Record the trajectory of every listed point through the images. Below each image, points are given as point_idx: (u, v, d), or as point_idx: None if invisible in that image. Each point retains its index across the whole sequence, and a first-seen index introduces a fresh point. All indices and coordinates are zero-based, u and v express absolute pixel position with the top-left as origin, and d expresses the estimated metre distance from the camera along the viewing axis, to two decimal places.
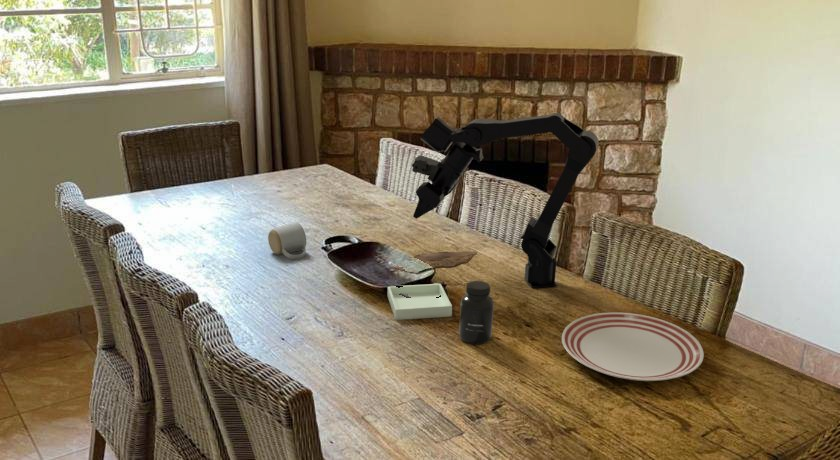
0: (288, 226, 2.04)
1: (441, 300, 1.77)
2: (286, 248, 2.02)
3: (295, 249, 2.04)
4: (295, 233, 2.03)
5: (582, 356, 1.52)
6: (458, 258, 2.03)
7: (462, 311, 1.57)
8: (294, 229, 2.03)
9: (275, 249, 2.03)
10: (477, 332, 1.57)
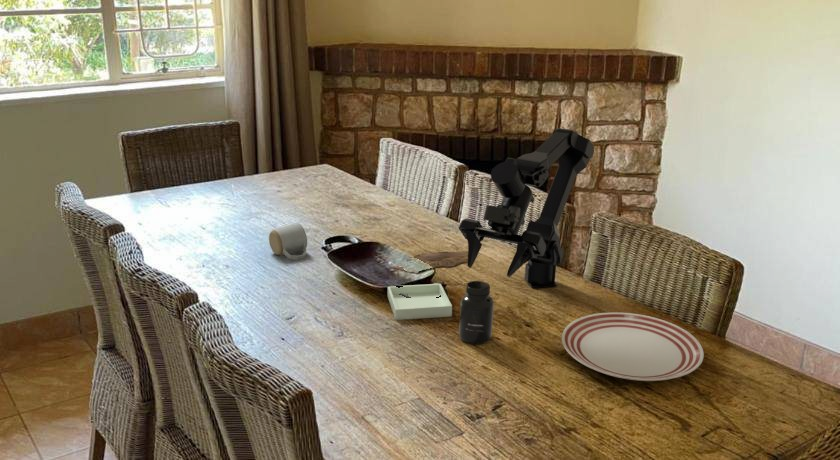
0: (289, 227, 2.03)
1: (441, 300, 1.77)
2: (287, 249, 2.01)
3: (296, 250, 2.04)
4: (295, 234, 2.02)
5: (582, 356, 1.52)
6: (458, 258, 2.03)
7: (462, 311, 1.57)
8: (295, 229, 2.03)
9: (276, 250, 2.02)
10: (477, 332, 1.57)
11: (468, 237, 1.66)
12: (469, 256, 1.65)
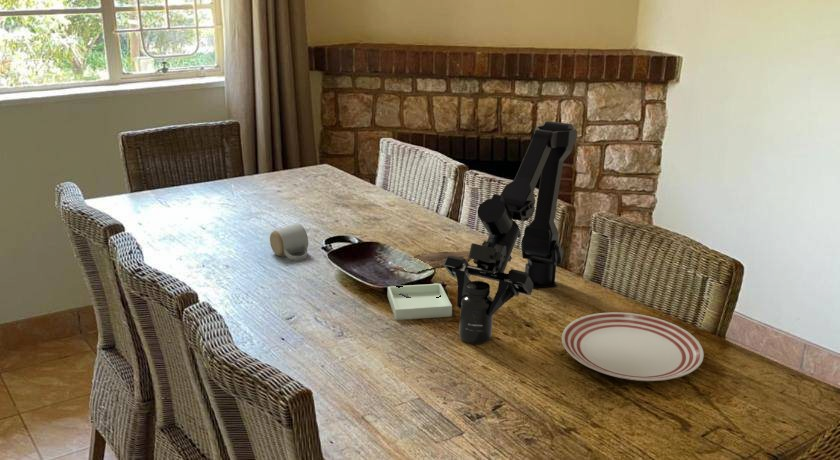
0: (290, 227, 2.03)
1: (441, 300, 1.77)
2: (288, 249, 2.01)
3: (297, 250, 2.03)
4: (296, 234, 2.02)
5: (582, 356, 1.52)
6: None
7: (462, 311, 1.57)
8: (296, 230, 2.02)
9: (277, 251, 2.02)
10: (477, 332, 1.57)
11: (458, 276, 1.61)
12: (459, 296, 1.59)
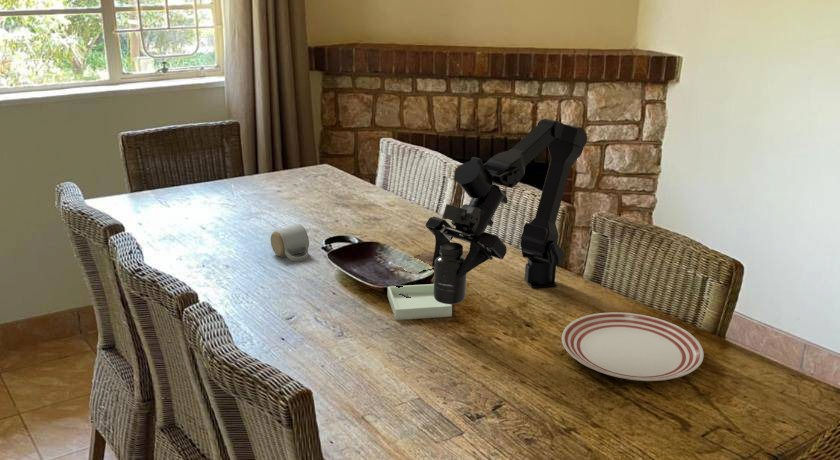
0: (291, 228, 2.02)
1: None
2: (289, 250, 2.01)
3: (298, 251, 2.03)
4: (297, 235, 2.02)
5: (582, 356, 1.52)
6: None
7: (434, 270, 1.61)
8: (297, 230, 2.02)
9: (278, 251, 2.01)
10: (447, 291, 1.59)
11: (436, 236, 1.64)
12: (434, 256, 1.63)
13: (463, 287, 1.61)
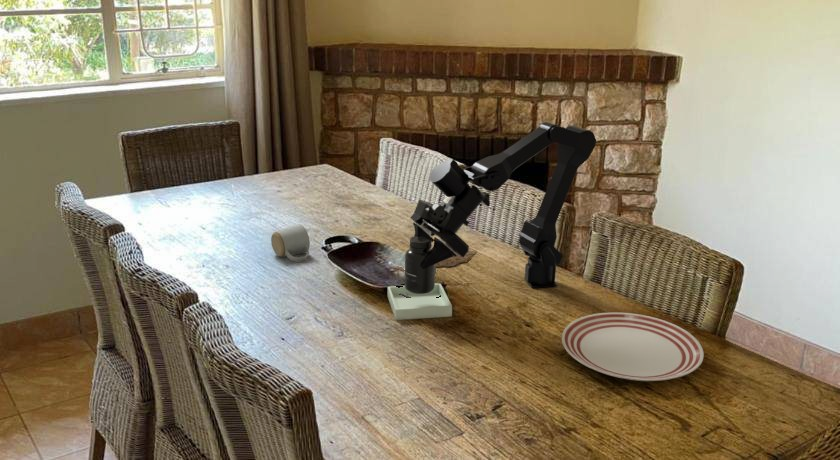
0: (291, 228, 2.02)
1: (441, 300, 1.77)
2: (290, 251, 2.00)
3: (298, 251, 2.03)
4: (298, 235, 2.01)
5: (582, 356, 1.52)
6: (458, 258, 2.03)
7: None
8: (297, 231, 2.02)
9: (279, 252, 2.01)
10: (411, 281, 1.70)
11: (415, 229, 1.75)
12: None
13: (428, 279, 1.70)
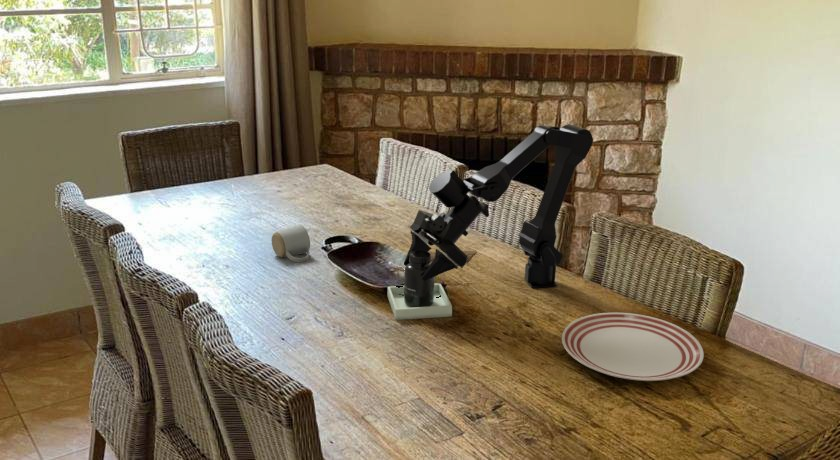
0: (292, 229, 2.02)
1: (441, 300, 1.77)
2: (290, 251, 2.00)
3: (299, 252, 2.02)
4: (298, 236, 2.01)
5: (582, 356, 1.52)
6: None
7: None
8: (298, 231, 2.01)
9: (279, 252, 2.01)
10: (411, 296, 1.72)
11: (412, 238, 1.76)
12: (407, 255, 1.76)
13: (427, 294, 1.72)
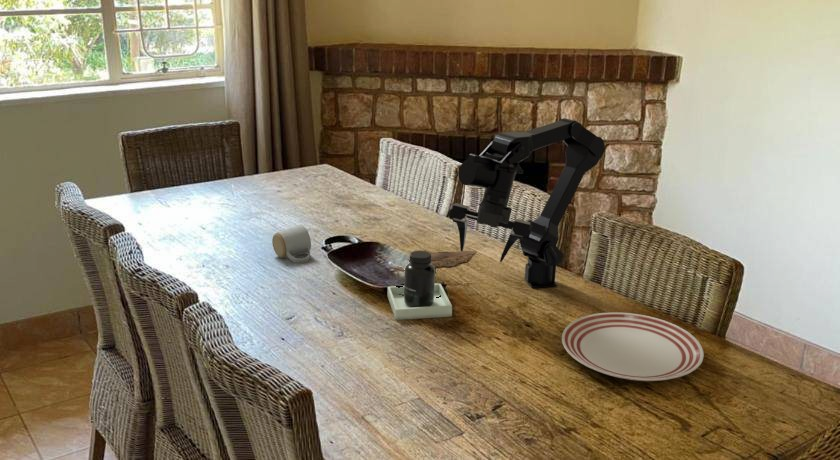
0: (292, 229, 2.02)
1: (441, 300, 1.77)
2: (291, 251, 2.00)
3: (300, 252, 2.02)
4: (299, 236, 2.01)
5: (582, 356, 1.52)
6: (458, 258, 2.03)
7: None
8: (299, 232, 2.01)
9: (280, 253, 2.00)
10: (411, 296, 1.72)
11: (458, 225, 1.73)
12: (461, 242, 1.74)
13: (428, 294, 1.72)
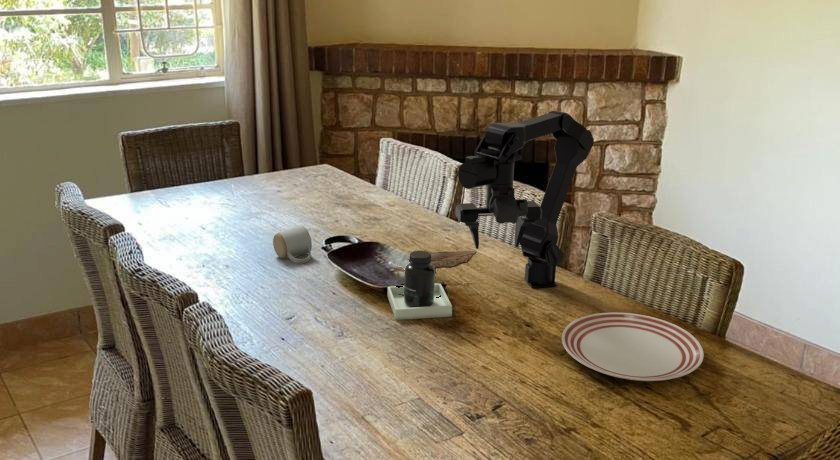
0: (293, 230, 2.01)
1: (441, 300, 1.77)
2: (292, 252, 1.99)
3: (300, 253, 2.02)
4: (300, 237, 2.00)
5: (582, 356, 1.52)
6: (458, 258, 2.03)
7: None
8: (299, 232, 2.01)
9: (281, 253, 2.00)
10: (411, 296, 1.72)
11: (472, 227, 1.70)
12: (476, 241, 1.73)
13: (427, 294, 1.72)
